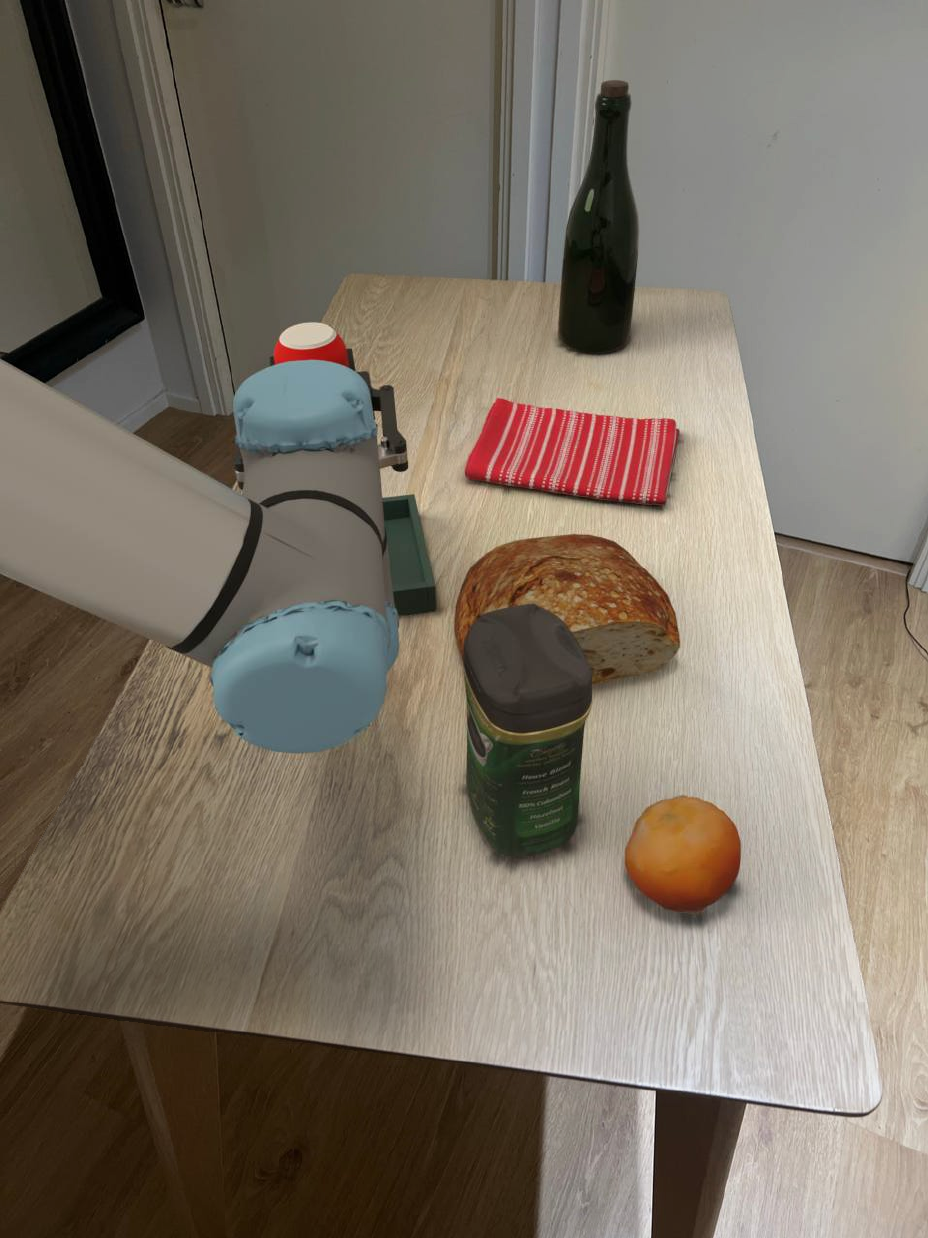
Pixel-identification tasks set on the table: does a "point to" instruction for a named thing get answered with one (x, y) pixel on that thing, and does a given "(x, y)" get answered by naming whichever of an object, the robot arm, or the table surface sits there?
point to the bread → (578, 599)
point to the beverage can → (310, 344)
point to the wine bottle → (602, 237)
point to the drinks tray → (408, 557)
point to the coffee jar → (525, 728)
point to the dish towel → (575, 453)
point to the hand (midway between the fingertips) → (313, 366)
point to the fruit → (683, 854)
